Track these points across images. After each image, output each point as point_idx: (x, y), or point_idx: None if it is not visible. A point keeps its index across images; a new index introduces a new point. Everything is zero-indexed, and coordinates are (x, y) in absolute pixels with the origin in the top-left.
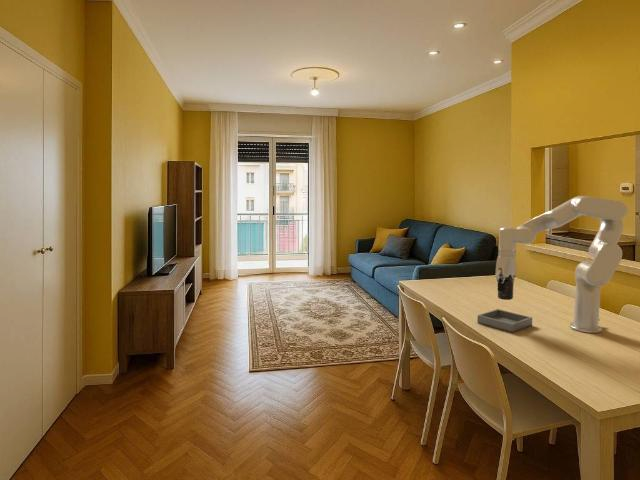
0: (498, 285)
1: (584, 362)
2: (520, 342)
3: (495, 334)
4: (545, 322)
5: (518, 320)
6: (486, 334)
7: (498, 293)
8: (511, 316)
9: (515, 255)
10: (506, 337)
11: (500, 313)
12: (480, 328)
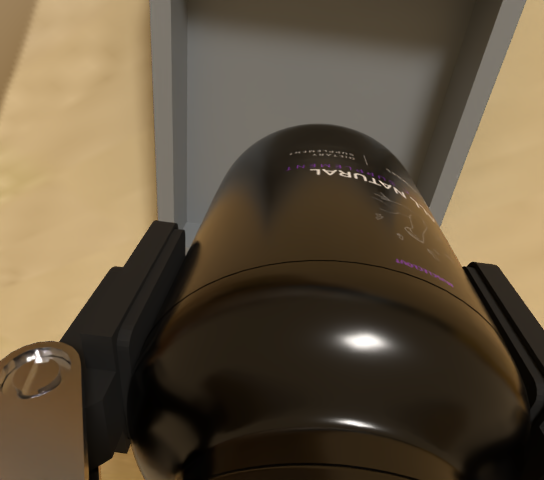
0: (79, 313)
1: (108, 462)
2: (85, 298)
3: (69, 166)
4: (524, 288)
5: (418, 184)
6: (16, 126)
7: (222, 185)
8: (441, 133)
9: None
10: (84, 229)
11: (482, 16)
12: (77, 28)
